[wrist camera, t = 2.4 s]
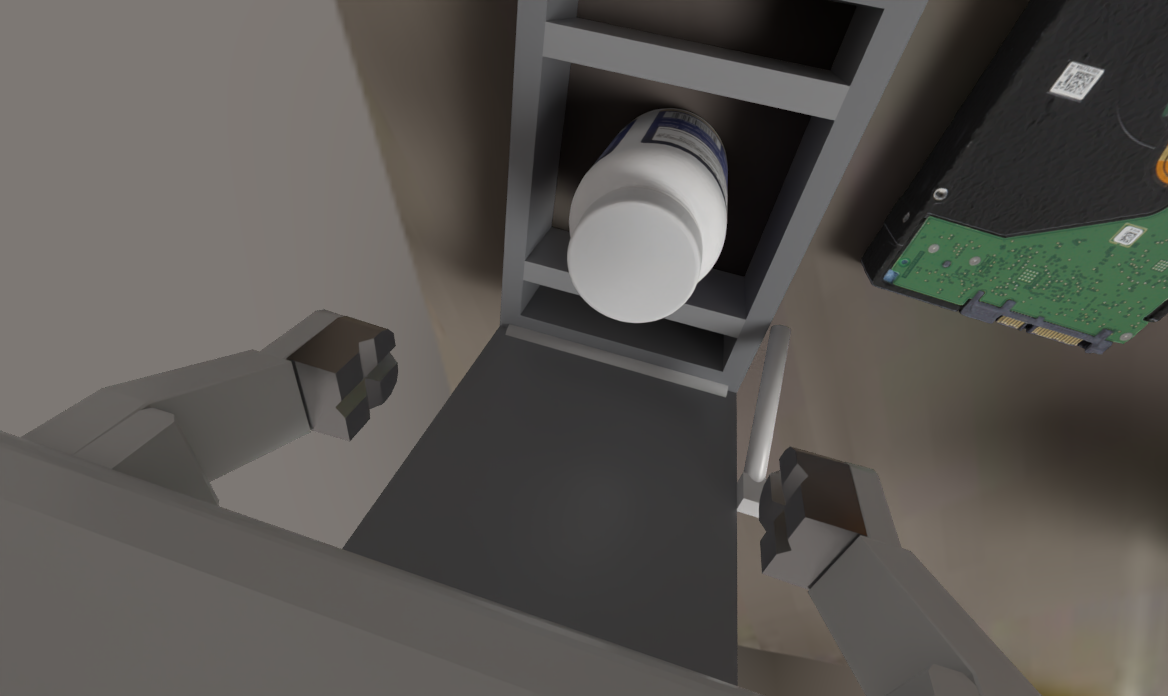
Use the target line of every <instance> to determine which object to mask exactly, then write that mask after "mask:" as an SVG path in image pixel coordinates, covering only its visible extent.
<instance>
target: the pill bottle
mask: <svg viewBox="0 0 1168 696" xmlns="http://www.w3.org/2000/svg"><path fill="white" fill-rule="evenodd" d="M727 183H728V164H727V156H726V152H725V149H724V146H723V143H722V141H721V139H720V137H719V136H718V134H717V133H716V131H715V130H714V129H713V128H712V126H711V125H710V124H709V123H707V122H706V121H705V120H704V119H702V118H701V117H699V116H698V115H696V114H694V113H691V112H689V111H686V110H682V109H675V108H664V109H657V110H653V111H650V112H647V113H645V114H642V115H640V116H639V117H637V118H636V119H634V120H633V121H631V122H630V123H629V124H627V125H626V126H625V127H624V128H623V129H622V130H621V131H620V132H619V133H618V134H617V136H616V137H615V138H614V139H613V141H612V142H611V143H610V145H609V146H608V147H607V148H606V150H605V151H604V152H603V153H602V155H601V156H600V157H599V158H598V160H597V161H596V162H595V163H594V164H593V166H592V167H591V168H590V169H589V171H588V172H587V173H586V174H585V176H584V177H583V179H582V180H581V182H580V184H579V186H578V188H577V190H576V192H575V194H574V197H573V200H572V204H571V208H570V215H569V229H570V237H571V238H570V241H569V245H568V251H567V265H568V270H569V275H570V278H571V280H572V283H573V285H574V287H575V288H576V290H577V291H578V293H579V294H580V296H581V297H582V298H583V299H584V301H586V302H587V303H588V304H589V305H590V306H591V307H592V308H594V309H595V310H597V311H598V312H599V313H601V314H603V315H605V316H607V317H609V318H612V319H615V320H618V321H622V322H629V323H645V322H652V321H656V320H659V319H662V318H664V317H666V316H668V315H670V314H672V313H673V312H675V311H676V310H678V309H679V308H680V307H681V306H682V305H683V304H684V303H685V302H686V301H687V300H688V299H689V298H690V296H691V295H692V293H693V291H694V290H695V287H696V285H697V283H698V282H699V281H701V280H702V279H703V278H704V277H705V276H706V275H707V273H708V272H709V271H710V270H711V269H712V267H713V266H714V264H715V263H716V261H717V259H718V257H719V255H720V253H721V250H722V248H723V245H724V240H725V236H726V228H727V201H728V200H727V197H728V195H727Z"/></svg>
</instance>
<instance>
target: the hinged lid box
mask: <svg viewBox="0 0 1168 696" xmlns="http://www.w3.org/2000/svg"><path fill="white" fill-rule="evenodd" d="M828 1H834V2H839V3H844V4H849V5H854V6H857V7H856V10H855V12H854V15H853V17H852V19H851V22H850V24H849V27H848V29H847V31H846V34H845V36H844V39H843V41H842V43H841V46H840V48H839V51H838V53H837V55H836V58H835V60H834V63H833V65H832V67H831V70H826V69H821V68H816V67H811V66H807V65H802V64H797V63H792V62H788V61H783V60H778V59H773V58H769V57H764V56H759V55H754V54H749V53H745V52H740V51H735V50H730V49H726V48H721V47H716V46H711V45H707V44H702V43H697V42H692V41H687V40H683V39H678V38H673V37H668V36H664V35H659V34H654V33H649V32H645V31H640V30H635V29H630V28H625V27H621V26H616V25H611V24H606V23H602V22H597V21H592V20H587V19H583V18H578V17H577V9H578V0H518V9H517V27H516V45H515V63H514V81H513V99H512V117H511V135H510V153H509V171H508V189H507V207H506V225H505V243H504V261H503V279H502V297H501V315H500V327H499V328H498V330H497V331H496V332H495V334H494V335H493V337H492V338H491V340H490V341H489V342H488V344H487V345H486V347H485V348H484V349H483V351H482V352H481V354H480V355H479V356H478V358H477V359H476V361H475V362H474V364H473V365H472V366H471V368H470V369H469V371H468V372H467V373H466V375H465V376H464V378H463V379H462V380H461V382H460V383H459V385H458V386H457V388H456V389H455V390H454V392H453V393H452V395H451V396H450V397H449V399H448V400H447V402H446V403H445V405H444V406H443V407H442V409H441V410H440V412H439V413H438V414H437V416H436V417H435V419H434V420H433V422H432V423H431V424H430V426H429V427H428V428H427V430H426V431H425V433H424V434H423V436H422V437H421V438H420V440H419V441H418V443H417V444H416V446H415V447H414V448H413V450H412V451H411V452H410V454H409V455H408V457H407V458H406V460H405V461H404V462H403V464H402V465H401V467H400V468H399V469H398V471H397V472H396V474H395V475H394V477H393V478H392V479H391V481H390V482H389V484H388V485H387V487H386V488H385V489H384V491H383V492H382V493H381V495H380V496H379V498H378V499H377V500H376V502H375V503H374V505H373V506H372V508H371V509H370V510H369V512H368V513H367V515H366V516H365V517H364V519H363V520H362V522H361V523H360V524H359V526H358V527H357V529H356V530H355V532H354V533H353V534H352V536H351V537H350V539H349V540H348V541H347V543H346V544H345V546H344V547H343V550H346V551H349V552H352V553H355V554H358V555H361V556H364V557H367V558H369V559H372V560H375V561H378V562H381V563H384V564H387V565H390V566H393V567H395V568H398V569H401V570H404V571H407V572H410V573H413V574H416V575H419V576H421V577H424V578H427V579H430V580H433V581H436V582H439V583H442V584H445V585H447V586H450V587H453V588H456V589H459V590H462V591H465V592H468V593H471V594H473V595H476V596H479V597H482V598H485V599H488V600H491V601H494V602H497V603H499V604H502V605H505V606H508V607H511V608H514V609H517V610H520V611H523V612H525V613H528V614H531V615H534V616H537V617H540V618H543V619H546V620H548V621H551V622H554V623H557V624H560V625H563V626H566V627H569V628H571V629H574V630H577V631H580V632H583V633H586V634H589V635H592V636H595V637H597V638H600V639H603V640H606V641H609V642H612V643H615V644H618V645H620V646H623V647H626V648H629V649H632V650H635V651H638V652H641V653H643V654H646V655H649V656H652V657H655V658H658V659H661V660H664V661H666V662H669V663H672V664H675V665H678V666H681V667H684V668H687V669H689V670H692V671H695V672H698V673H701V674H704V675H707V676H710V677H712V678H715V679H718V680H721V681H724V682H727V683H730V684H733V685H736V686H737V511H738V512H742V513H745V514H748V515H751V516H755V517H758V518H759V501H760V496H761V492H762V489H763V486H764V484H765V482H766V480H767V479H765V477H766V472H767V466H768V460H769V454H770V449H771V443H772V437H773V431H774V426H775V420H776V414H777V409H778V403H779V397H780V391H781V386H782V380H783V374H784V369H785V363H786V357H787V351H788V346H789V340H790V334H791V329H790V328H789V327H787V326H783V325H774V326H772V327H771V331H770V336H769V341H768V346H767V352H766V357H765V362H764V367H763V373H762V378H761V383H760V389H759V394H758V399H757V404H756V410H755V415H754V420H753V425H752V431H751V436H750V441H749V447H748V452H747V457H746V462H745V468H744V472H743V474H742V475H741V477H740V479H739V480H738V482H737V409H736V393H737V391H738V389H739V387H740V385H741V383H742V381H743V379H744V377H745V375H746V373H747V371H748V369H749V366H750V364H751V362H752V360H753V358H754V356H755V354H756V352H757V350H758V348H759V346H760V344H761V342H762V340H763V338H764V336H765V334H766V332H767V330H768V328H769V326H770V323H771V321H772V319H773V317H774V315H775V313H776V311H777V309H778V307H779V305H780V303H781V301H782V299H783V297H784V295H785V293H786V291H787V289H788V287H789V285H790V283H791V280H792V278H793V276H794V274H795V272H796V270H797V268H798V266H799V264H800V262H801V260H802V258H803V256H804V254H805V252H806V250H807V248H808V246H809V244H810V242H811V240H812V238H813V235H814V233H815V231H816V229H817V227H818V225H819V223H820V221H821V219H822V217H823V215H824V213H825V211H826V209H827V207H828V205H829V203H830V201H831V199H832V197H833V195H834V192H835V190H836V188H837V186H838V184H839V182H840V180H841V178H842V176H843V174H844V172H845V170H846V168H847V166H848V164H849V162H850V160H851V158H852V156H853V154H854V152H855V149H856V147H857V145H858V143H859V141H860V139H861V137H862V135H863V133H864V131H865V129H866V127H867V125H868V123H869V121H870V119H871V117H872V115H873V113H874V111H875V109H876V106H877V104H878V102H879V100H880V98H881V96H882V94H883V92H884V90H885V88H886V86H887V84H888V82H889V80H890V78H891V76H892V74H893V72H894V70H895V68H896V66H897V63H898V61H899V59H900V57H901V55H902V53H903V51H904V49H905V47H906V45H907V43H908V41H909V39H910V37H911V35H912V33H913V31H914V29H915V27H916V25H917V23H918V20H919V18H920V16H921V14H922V12H923V10H924V8H925V6H926V4H927V2H928V0H828ZM571 63H576V64H580V65H585V66H589V67H594V68H599V69H603V70H608V71H612V72H617V73H621V74H626V75H630V76H635V77H639V78H644V79H649V80H653V81H658V82H662V83H667V84H671V85H676V86H680V87H685V88H689V89H694V90H699V91H703V92H708V93H712V94H717V95H721V96H726V97H730V98H735V99H739V100H744V101H749V102H753V103H758V104H762V105H767V106H771V107H776V108H780V109H785V110H789V111H794V112H799V113H803V114H808V115H812V116H811V118H810V120H809V123H808V125H807V128H806V130H805V132H804V135H803V137H802V140H801V142H800V144H799V147H798V149H797V152H796V154H795V156H794V159H793V161H792V164H791V166H790V169H789V171H788V173H787V176H786V178H785V181H784V183H783V185H782V188H781V190H780V193H779V195H778V197H777V200H776V202H775V205H774V207H773V209H772V212H771V214H770V217H769V219H768V221H767V224H766V226H765V229H764V231H763V233H762V236H761V238H760V241H759V243H758V246H757V248H756V250H755V253H754V255H753V258H752V260H751V262H750V265H749V267H748V270H747V272H746V274H745V277H743V276H739V275H735V274H732V273H728V272H724V271H720V270H716V269H711V270H710V271H709V272H708V273H707V275H706V276H705V277H704V278H703V279H702V280H701V281H699V282H698V283H697V285H696V287H695V290H694V291H693V293H692V295H691V296H690V298H689V299H688V300H687V301H686V302H685V303H684V304H683V305H682V306H681V307H680V308H679V309H678V310H676V311H675V312H673V313H672V314H670V315H668V316H666V317H664V318H662V319H659V320H656V321H652V322H645V323H629V322H622V321H618V320H615V319H612V318H609V317H607V316H605V315H603V314H601V313H599V312H598V311H597V310H595V309H594V308H592V307H591V306H590V305H589V304H588V303H587V302H586V301H584V299H583V298H582V297H581V296H580V294H579V293H578V291H577V290H576V288H575V287H574V285H573V283H572V280H571V278H570V275H569V270H568V265H567V251H568V245H569V241H570V238H571V237H570V232H569V231H565V230H561V229H557V228H553V227H552V218H553V210H554V201H555V193H556V185H557V176H558V168H559V159H560V151H561V143H562V134H563V126H564V118H565V109H566V101H567V92H568V84H569V76H570V67H571Z"/></svg>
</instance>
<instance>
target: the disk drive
mask: <svg viewBox="0 0 1168 696" xmlns="http://www.w3.org/2000/svg"><path fill="white" fill-rule="evenodd" d="M861 263H862V265H863V267H864V270H865V273H866V275H867V276H868V278H869V280H870V282H871V284H872V285H873V286H875V287H878V288H881V289H885V290H888V291H891V292H894V293H897V294H901V295H904V296H907V297H910V298H913V299H917V300H920V301H923V302H926V303H929V304H932V305H935V306H939V307H942V308H945V309H949V310H952V311H955V312H957V311H958V310H959V312H960V313H961V314H962V315H964V316H967V317H970V318H974V319H978V320H980V321H984V322H987V323H993V322H994V321H995V320H996V322H997V323H999V324H1002V325H1005V326H1009V327H1012V328H1015V329H1018V330H1020V331H1021V330H1022V329H1023V328H1024V329H1026V332H1027V333H1031V334H1035V335H1038V336H1041V337H1045V338H1048V339H1052V340H1055V341H1058V342H1061V343H1064V344H1067V345H1071V346H1076V345H1078V346H1080V347H1082V348H1084V349H1085V352H1086V353H1096V354H1102V353H1103V352H1104V351H1105V350H1107V349H1108V348H1109V347H1110V346H1111V345H1112V343H1113V342H1118V343H1122V344H1124V343H1125V342H1127V341H1128V340H1130V339H1132V338H1133V337H1134V336H1135V335H1136V334H1137V333H1138V332H1139V331H1140V330H1141V329H1142V328H1143V327H1145V326H1146V325H1147V324H1148V322H1156V321H1159V320H1160V319H1161V318H1162V317H1164V316H1165V315H1166V314H1167V313H1168V0H1031V1H1030V2H1029V4H1028V6H1027V7H1026V9H1025V10H1024V11H1023V13H1022V14H1021V16H1020V18H1019V19H1018V21H1017V22H1016V24H1015V26H1014V27H1013V29H1012V30H1011V32H1010V33H1009V35H1008V36H1007V38H1006V39H1005V40H1004V42H1003V43H1002V45H1001V47H1000V48H999V50H998V51H997V53H996V55H995V56H994V58H993V59H992V61H991V62H990V64H989V65H988V67H987V69H986V70H985V71H984V73H983V74H982V75H981V77H980V78H979V80H978V82H977V84H976V85H975V87H974V88H973V90H972V92H971V94H970V95H969V96H968V97H967V99H966V100H965V102H964V103H963V105H962V106H961V108H960V109H959V110H958V112H957V113H956V115H955V117H954V120H953V121H952V122H951V124H950V126H949V127H948V128H947V129H946V131H945V132H944V134H943V136H942V137H941V139H940V140H939V142H938V143H937V145H936V146H935V148H934V150H933V151H932V153H931V154H930V155H929V157H928V159H927V160H926V162H925V163H924V165H923V166H922V168H921V169H920V171H919V172H918V174H917V175H916V177H915V179H914V180H913V181H912V183H911V185H910V186H909V188H908V189H907V190H906V192H905V193H904V195H903V196H902V197H901V198H899V200H898V201H897V203H896V204H895V206H894V207H893V209H892V211H891V212H890V214H889V215H888V217H887V219H886V220H885V222H884V225H883V227H882V228H881V230H880V231H879V233H878V234H877V236H876V237H875V239H874V240H873V242H872V243H871V245H870V246H869V247H868V249H867V251H866V253H865V254H864V256H863V257H862V259H861Z"/></svg>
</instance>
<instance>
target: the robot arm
mask: <svg viewBox="0 0 1168 696" xmlns="http://www.w3.org/2000/svg"><path fill="white" fill-rule="evenodd" d="M394 347H395V339H394V333H393V332H391V331H390V330H388V329H386V328H383V327H379V326H376V325H373V324H370V323H367V322H364V321H361V320H357V319H354V318H351V317H348V316H343V315H340V314H337V313H334V312H331V311H328V310H325V309H324V310H318V311H315V312H314V313H312V314H311V315H310V316H308V317H307V318H305V319H304V320H303V321H301V322H300V323H298V324H297V325H296V326H294V327H293V328H292V329H290V330H289V331H287V332H286V333H285V334H283V335H282V336H281V337H279V338H278V339H276V340H275V341H274V342H272V343H271V344H269V345H268V346H267V347H265V348H264V349H262V350H261V351H256V350H249V351H245V352H241V353H237V354H233V355H229V356H225V357H221V358H217V359H214V360H210V361H206V362H202V363H198V364H194V365H190V366H187V367H182V368H179V369H175V370H171V371H167V372H163V373H159V374H155V375H151V376H147V377H144V378H140V379H136V380H132V381H128V382H124V383H120V384H117V385H113V386H109V387H105V388H102V389H100V390H98V391H97V392H95V393H93V394H92V395H90V396H88V397H87V398H85V399H83V400H82V401H80V402H79V403H77V404H75V405H73V406H72V407H70V408H68V409H67V410H65V411H63V412H62V413H60V414H58V415H57V416H55V417H53V418H52V419H50V420H49V421H47V422H45V423H44V424H42V425H40V426H39V427H37V428H35V429H34V430H32V431H30V432H29V433H27V434H25V435H24V436H22V437H17V436H15V435H12V434H9V433H6V432H3V431H0V696H764V695H762V694H759V693H756V692H753V691H750V690H747V689H744V688H741V687H738V686H736V685H733V684H730V683H727V682H724V681H721V680H718V679H715V678H712V677H710V676H707V675H704V674H701V673H698V672H695V671H692V670H689V669H687V668H684V667H681V666H678V665H675V664H672V663H669V662H666V661H664V660H661V659H658V658H655V657H652V656H649V655H646V654H643V653H641V652H638V651H635V650H632V649H629V648H626V647H623V646H620V645H618V644H615V643H612V642H609V641H606V640H603V639H600V638H597V637H595V636H592V635H589V634H586V633H583V632H580V631H577V630H574V629H571V628H569V627H566V626H563V625H560V624H557V623H554V622H551V621H548V620H546V619H543V618H540V617H537V616H534V615H531V614H528V613H525V612H523V611H520V610H517V609H514V608H511V607H508V606H505V605H502V604H499V603H497V602H494V601H491V600H488V599H485V598H482V597H479V596H476V595H473V594H471V593H468V592H465V591H462V590H459V589H456V588H453V587H450V586H447V585H445V584H442V583H439V582H436V581H433V580H430V579H427V578H424V577H421V576H419V575H416V574H413V573H410V572H407V571H404V570H401V569H398V568H395V567H393V566H390V565H387V564H384V563H381V562H378V561H375V560H372V559H369V558H367V557H364V556H361V555H358V554H355V553H352V552H349V551H346V550H343V549H341V548H337V547H335V546H332V545H329V544H326V543H323V542H320V541H317V540H314V539H312V538H309V537H306V536H303V535H300V534H297V533H294V532H291V531H289V530H285V529H283V528H280V527H277V526H274V525H271V524H268V523H265V522H263V521H259V520H257V519H254V518H251V517H248V516H245V515H242V514H240V513H237V512H233V511H231V510H228V509H225V508H222V507H219V500H218V498H217V496H216V494H215V492H214V490H213V488H212V486H211V484H210V482H211V481H213V480H215V479H217V478H219V477H221V476H223V475H225V474H227V473H229V472H231V471H233V470H235V469H237V468H239V467H241V466H243V465H245V464H247V463H249V462H251V461H253V460H255V459H258V458H259V457H262V456H264V455H266V454H268V453H270V452H272V451H274V450H276V449H278V448H280V447H282V446H284V445H286V444H288V443H290V442H292V441H294V440H296V439H298V438H300V437H302V436H304V435H306V434H308V433H310V432H311V431H310V430H312V431H316V432H320V433H323V434H326V435H330V436H333V437H337V438H340V439H344V440H347V441H351V440H352V438H353V437H354V436H355V435H356V434H357V433H358V432H359V431H360V429H361V428H362V427H363V426H364V425H365V424H366V423H367V421H368V420H369V419H370V410H369V409H371V408H374V407H376V406H379V405H382V404H383V403H384V402H385V401H386V400H387V398H388V397H389V396H390V395H391V393H392V390H393V389H394V386H395V384H396V382H397V376H398V365H397V362H396V361H395V359H394V358H393V356H392V355H391V354H390V351H391V350H392V349H393V348H394ZM779 461H780V470H779V471H776V472H774V473H771V474H770V475H769V477H768V478H767V480H766V482H765V484H764V486H763V489H762V492H761V496H760V501H759V521H760V523H761V524H762V526H763V527H764V528H765V530H766V531H767V532H766V533H765V535H764V536H763V538H762V539H761V541H760V547H761V563H762V574H765V575H768V576H770V577H773V578H776V579H779V580H782V581H785V582H788V583H791V584H793V585H796V586H799V587H802V588H805V589H808V590H809V591H808V593H809V595H810V597H811V599H812V601H813V602H814V604H815V606H816V608H817V609H818V611H819V613H820V615H821V617H822V618H823V620H824V622H825V624H826V625H827V627H828V629H829V631H830V633H831V634H832V636H833V638H834V640H835V642H836V643H837V645H838V647H839V649H840V650H841V652H842V654H843V656H844V658H845V659H846V661H847V663H848V665H849V666H850V668H851V670H852V672H853V674H854V675H855V677H856V679H857V681H858V683H859V684H860V686H861V688H862V689H863V691H864V693H865V695H866V696H1042V695H1041V694H1040V693H1039V692H1038V691H1037V690H1036V689H1035V688H1034V687H1033V685H1032V684H1031V683H1030V682H1029V681H1028V680H1027V679H1026V678H1025V677H1024V676H1023V674H1022V673H1021V672H1020V671H1019V670H1018V669H1017V668H1016V667H1015V666H1014V664H1013V663H1012V662H1011V661H1010V660H1009V659H1008V658H1007V657H1006V656H1005V655H1004V653H1003V652H1002V651H1001V650H1000V649H999V648H998V647H997V646H996V645H995V644H994V642H993V641H992V640H991V639H990V638H989V637H988V636H987V635H986V634H985V632H984V631H983V630H982V629H981V628H980V627H979V626H978V625H977V624H976V623H975V621H974V620H973V619H972V618H971V617H970V616H969V615H968V614H967V613H966V612H965V610H964V609H963V608H962V607H961V606H960V605H959V604H958V603H957V602H956V600H955V599H954V598H953V597H952V596H951V595H950V594H949V593H948V592H947V591H946V589H945V588H944V587H943V586H942V585H941V584H940V583H939V582H938V581H937V579H936V578H935V577H934V576H933V575H932V574H931V573H930V572H929V571H928V570H927V568H926V567H925V566H924V565H923V564H922V563H921V562H920V561H919V560H918V559H917V557H916V556H915V555H914V554H913V553H912V552H911V551H909V550H906V549H903V548H901V544H900V541H899V538H898V535H897V532H896V529H895V526H894V523H893V520H892V516H891V513H890V510H889V507H888V504H887V501H886V498H885V495H884V492H883V488H882V485H881V482H880V479H879V476H878V474H877V473H876V472H875V471H874V470H873V469H870V468H867V467H863V466H859V465H856V464H852V463H848V462H842V461H840V460H836V459H833V458H829V457H826V456H822V455H819V454H815V453H812V452H808V451H805V450H801V449H797V448H794V447H789V448H788V449H786V450H785V451H784V453H783V454H782V456H781V457H780V459H779Z"/></svg>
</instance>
